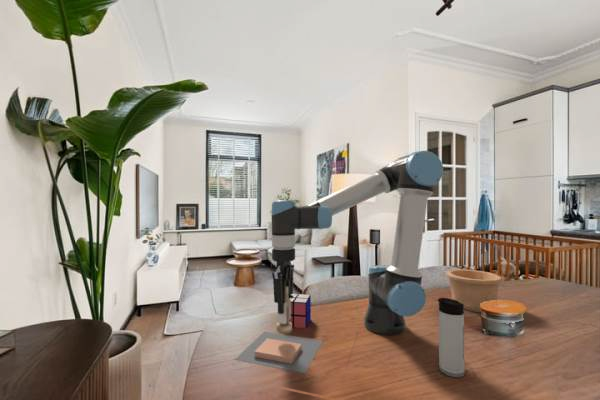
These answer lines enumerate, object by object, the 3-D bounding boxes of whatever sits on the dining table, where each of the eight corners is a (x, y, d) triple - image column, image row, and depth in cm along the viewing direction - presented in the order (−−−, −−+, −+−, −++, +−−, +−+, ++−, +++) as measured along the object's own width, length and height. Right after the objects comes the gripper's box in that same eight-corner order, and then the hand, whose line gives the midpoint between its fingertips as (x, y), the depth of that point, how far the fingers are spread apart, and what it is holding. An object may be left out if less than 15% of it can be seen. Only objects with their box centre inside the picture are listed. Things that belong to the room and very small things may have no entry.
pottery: (501, 303, 136) (500, 272, 136) (503, 318, 118) (503, 283, 118) (449, 295, 148) (449, 267, 148) (444, 308, 129) (444, 276, 130)
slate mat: (323, 342, 98) (323, 340, 98) (305, 375, 79) (305, 373, 79) (264, 332, 105) (264, 331, 105) (234, 361, 86) (234, 359, 86)
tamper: (294, 328, 95) (293, 285, 95) (288, 334, 90) (288, 289, 90) (280, 326, 96) (279, 284, 97) (273, 332, 92) (273, 288, 92)
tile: (301, 343, 92) (291, 358, 83) (301, 349, 92) (291, 364, 83) (267, 338, 96) (254, 351, 87) (267, 343, 96) (254, 357, 87)
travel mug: (433, 365, 84) (433, 296, 84) (455, 364, 84) (454, 295, 84) (446, 378, 77) (445, 303, 78) (469, 377, 78) (469, 302, 78)
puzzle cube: (306, 329, 108) (306, 302, 108) (280, 327, 110) (280, 301, 110) (310, 319, 118) (310, 294, 118) (286, 317, 120) (286, 293, 120)
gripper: (282, 244, 102) (282, 310, 102) (262, 251, 87) (262, 329, 87) (302, 244, 100) (303, 313, 100) (285, 252, 85) (286, 332, 85)
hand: (284, 320), depth 93 cm, fingers closed on tamper, 3 cm apart
